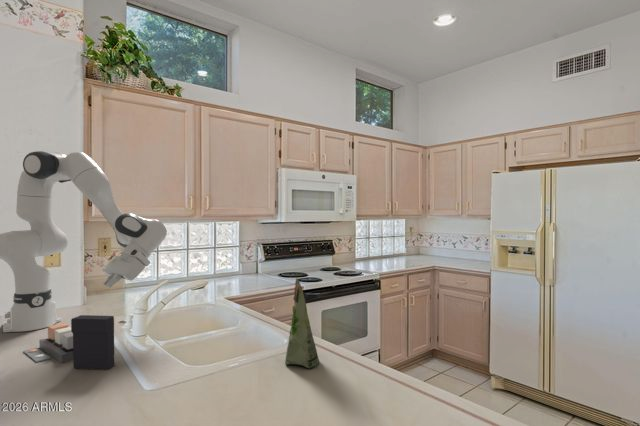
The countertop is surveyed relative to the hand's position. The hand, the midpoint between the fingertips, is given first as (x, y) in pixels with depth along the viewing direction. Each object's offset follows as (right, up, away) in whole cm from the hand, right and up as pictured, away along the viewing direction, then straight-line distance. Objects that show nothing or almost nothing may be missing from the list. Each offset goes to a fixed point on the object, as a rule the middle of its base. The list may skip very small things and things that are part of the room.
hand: (106, 286), depth 131 cm
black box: (+10, -20, -23) cm, 32 cm away
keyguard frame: (-8, -19, -10) cm, 23 cm away
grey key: (-2, -16, -14) cm, 22 cm away
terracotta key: (-13, -16, -6) cm, 22 cm away
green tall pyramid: (+71, -19, -21) cm, 77 cm away
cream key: (-8, -16, -10) cm, 21 cm away
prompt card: (-14, -20, -14) cm, 28 cm away
